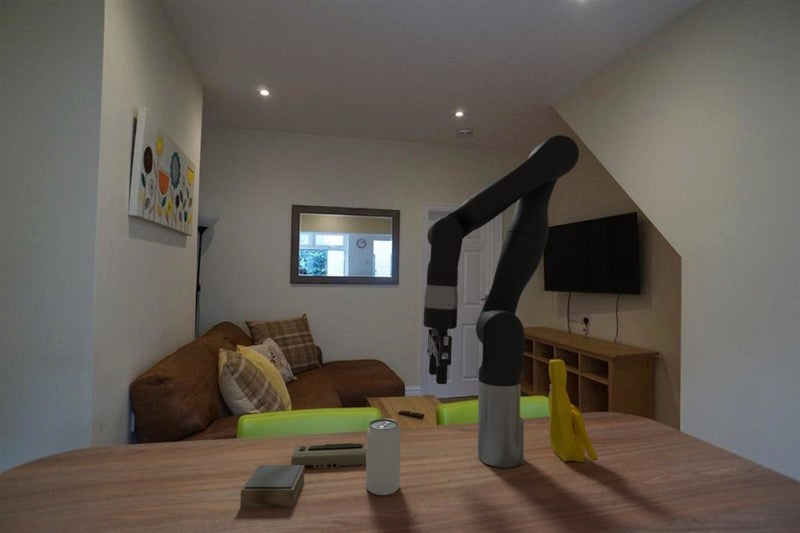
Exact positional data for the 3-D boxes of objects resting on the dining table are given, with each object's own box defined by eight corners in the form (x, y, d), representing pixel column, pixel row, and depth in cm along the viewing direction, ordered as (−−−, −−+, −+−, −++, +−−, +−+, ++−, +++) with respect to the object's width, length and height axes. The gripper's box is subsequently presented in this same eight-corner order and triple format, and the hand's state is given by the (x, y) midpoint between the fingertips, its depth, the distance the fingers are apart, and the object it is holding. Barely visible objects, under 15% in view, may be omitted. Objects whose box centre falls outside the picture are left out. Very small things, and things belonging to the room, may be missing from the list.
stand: (304, 481, 75) (304, 463, 76) (293, 507, 66) (293, 488, 67) (257, 481, 75) (258, 463, 75) (240, 507, 66) (240, 488, 66)
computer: (364, 451, 90) (364, 437, 90) (366, 468, 82) (366, 452, 82) (295, 455, 88) (295, 440, 88) (290, 472, 80) (290, 456, 80)
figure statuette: (606, 475, 79) (605, 368, 80) (570, 476, 79) (569, 368, 80) (563, 440, 97) (563, 353, 98) (533, 441, 96) (533, 353, 97)
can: (359, 492, 72) (361, 426, 72) (375, 476, 78) (376, 416, 78) (391, 500, 69) (392, 432, 70) (404, 483, 75) (405, 420, 76)
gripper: (465, 309, 80) (462, 388, 79) (449, 305, 94) (446, 372, 93) (430, 307, 79) (426, 387, 78) (419, 303, 93) (416, 371, 93)
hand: (437, 378), depth 86 cm, fingers open, 8 cm apart
